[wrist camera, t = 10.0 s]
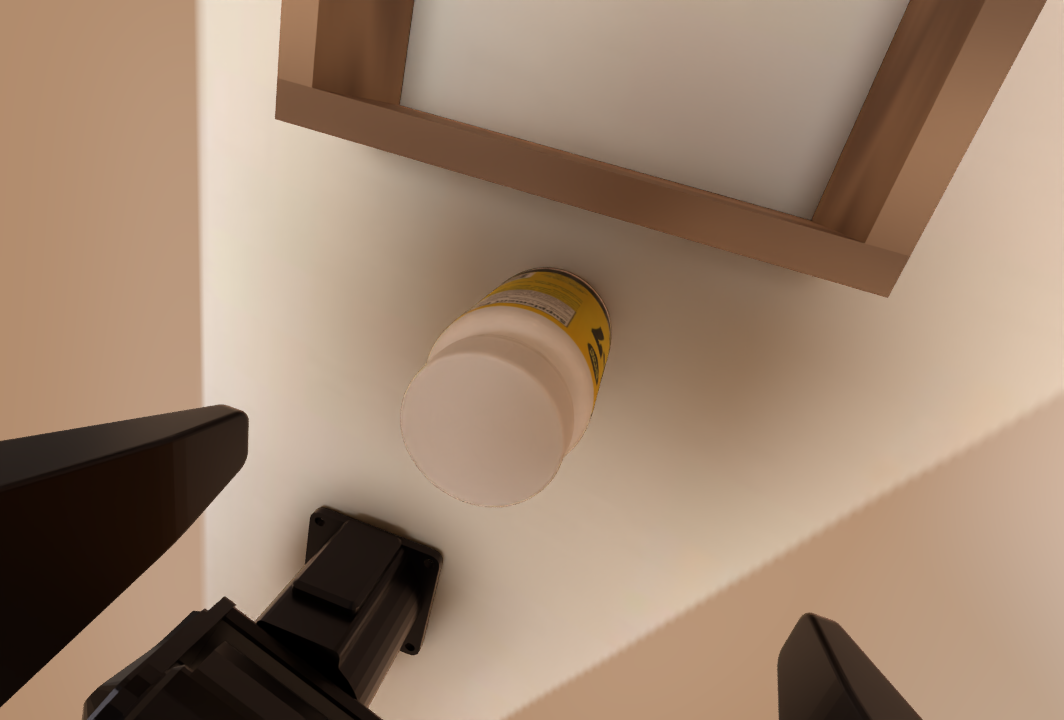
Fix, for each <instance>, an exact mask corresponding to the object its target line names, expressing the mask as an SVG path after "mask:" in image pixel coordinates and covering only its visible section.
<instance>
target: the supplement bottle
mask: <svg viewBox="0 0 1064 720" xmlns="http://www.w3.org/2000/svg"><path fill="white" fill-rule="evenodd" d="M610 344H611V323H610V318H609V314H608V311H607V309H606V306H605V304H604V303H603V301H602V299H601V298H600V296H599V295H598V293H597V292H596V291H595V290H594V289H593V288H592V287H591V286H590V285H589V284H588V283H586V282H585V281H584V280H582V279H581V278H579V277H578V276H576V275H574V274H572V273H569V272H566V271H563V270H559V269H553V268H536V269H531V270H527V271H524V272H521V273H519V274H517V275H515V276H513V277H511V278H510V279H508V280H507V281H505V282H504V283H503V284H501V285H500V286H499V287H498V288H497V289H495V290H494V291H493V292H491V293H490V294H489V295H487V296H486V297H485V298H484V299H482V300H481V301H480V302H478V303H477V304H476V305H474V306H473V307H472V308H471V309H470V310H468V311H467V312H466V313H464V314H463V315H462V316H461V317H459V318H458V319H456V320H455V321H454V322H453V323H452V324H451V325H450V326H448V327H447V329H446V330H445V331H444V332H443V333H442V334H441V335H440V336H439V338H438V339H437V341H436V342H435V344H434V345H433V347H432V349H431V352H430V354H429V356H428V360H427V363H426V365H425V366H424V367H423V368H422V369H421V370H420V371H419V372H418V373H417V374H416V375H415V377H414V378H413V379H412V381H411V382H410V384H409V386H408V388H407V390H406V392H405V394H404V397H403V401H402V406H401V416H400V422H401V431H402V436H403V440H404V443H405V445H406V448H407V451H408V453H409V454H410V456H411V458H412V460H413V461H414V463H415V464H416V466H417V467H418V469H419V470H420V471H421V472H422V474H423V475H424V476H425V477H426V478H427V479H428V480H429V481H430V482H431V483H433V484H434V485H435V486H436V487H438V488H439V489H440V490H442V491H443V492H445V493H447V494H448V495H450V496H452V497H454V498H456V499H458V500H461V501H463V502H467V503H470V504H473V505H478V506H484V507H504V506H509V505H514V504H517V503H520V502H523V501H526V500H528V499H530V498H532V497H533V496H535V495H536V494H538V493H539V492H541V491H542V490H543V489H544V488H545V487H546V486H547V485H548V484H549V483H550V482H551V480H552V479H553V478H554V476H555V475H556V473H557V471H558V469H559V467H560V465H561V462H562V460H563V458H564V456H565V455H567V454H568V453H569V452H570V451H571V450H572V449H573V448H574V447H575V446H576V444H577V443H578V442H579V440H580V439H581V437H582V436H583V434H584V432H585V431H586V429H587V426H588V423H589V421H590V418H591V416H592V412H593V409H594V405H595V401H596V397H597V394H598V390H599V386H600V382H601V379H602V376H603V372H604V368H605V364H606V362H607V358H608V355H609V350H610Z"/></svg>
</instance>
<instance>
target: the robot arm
mask: <svg viewBox="0 0 1064 720" xmlns="http://www.w3.org/2000/svg"><path fill="white" fill-rule="evenodd" d="M248 428H249V419H248V416H247V414H246V413H245V412H244V411H241V410H239V409H236V408H233V407H230V406H227V405H214V406H208V407H202V408H196V409H190V410H184V411H178V412H172V413H166V414H160V415H154V416H148V417H142V418H136V419H130V420H124V421H118V422H112V423H106V424H100V425H94V426H88V427H82V428H76V429H70V430H64V431H58V432H52V433H46V434H40V435H35V436H28V437H22V438H16V439H10V440H4V441H0V707H1V706H2V705H3V704H4V703H6V702H7V701H8V700H9V699H10V698H11V697H12V696H13V695H14V694H15V693H16V692H17V691H18V690H19V689H20V688H21V687H22V686H24V685H25V684H26V683H27V682H28V681H29V680H30V679H31V678H32V677H33V676H34V675H35V674H36V673H37V672H39V671H40V670H41V669H42V668H43V667H44V666H45V665H46V664H47V663H48V662H49V661H50V660H51V659H52V658H53V657H54V656H55V655H57V654H58V653H59V652H60V651H61V650H62V649H63V648H64V647H65V646H66V645H67V644H68V643H69V642H70V641H71V640H73V639H74V638H75V637H76V636H77V635H78V634H79V633H80V632H81V631H82V630H83V629H84V628H85V627H86V626H87V625H88V624H89V623H91V622H92V621H93V620H94V619H95V618H96V617H97V616H98V615H99V614H100V613H101V612H102V611H103V610H104V609H106V608H107V606H109V605H110V604H111V603H112V602H113V601H114V600H115V599H116V598H117V597H118V596H119V595H120V594H121V593H123V592H124V591H125V590H126V589H127V588H128V587H129V586H130V585H131V584H132V583H133V582H134V581H135V580H136V579H137V578H138V577H139V576H141V575H142V574H143V573H144V572H145V571H146V570H147V569H148V568H149V567H150V566H151V565H152V564H153V563H154V562H156V561H157V560H158V559H159V558H160V557H161V556H162V555H163V554H164V553H165V552H166V551H167V550H168V549H169V548H170V547H171V546H172V545H173V544H174V543H175V542H176V541H177V540H178V539H179V538H180V537H181V536H182V535H183V534H184V533H185V532H186V531H187V529H188V528H189V527H190V526H191V525H192V524H193V523H194V522H195V520H196V519H197V518H198V517H199V516H200V515H201V514H202V513H203V511H204V510H205V509H206V508H207V507H208V506H209V505H210V503H211V502H212V501H213V500H214V499H215V498H216V497H217V496H218V494H219V493H220V492H221V491H222V490H223V489H224V488H225V486H226V485H227V484H228V483H229V482H230V481H231V480H232V479H233V477H234V476H235V475H236V474H237V473H238V472H239V471H240V469H241V468H242V467H243V465H244V463H245V461H246V459H247V455H248ZM321 518H322V519H323V520H322V519H321ZM428 559H429V560H431V561H433V562H430V561H429V560H428ZM442 562H443V558H442V556H441V554H440V553H439V552H438V551H436V550H434V549H431V548H429V547H426V546H423V545H421V544H418V543H416V542H413V541H410V540H408V539H405V538H402V537H400V536H397V535H395V534H392V533H389V532H387V531H384V530H382V529H379V528H376V527H374V526H371V525H368V524H366V523H363V522H361V521H358V520H355V519H353V518H350V517H348V516H345V515H342V514H340V513H337V512H335V511H332V510H329V509H327V508H323V507H321V508H318V509H317V510H316V511H315V512H314V513H313V514H312V515H311V517H310V523H309V532H308V541H307V550H306V559H305V566H304V567H303V568H302V569H301V570H300V571H299V572H298V574H297V575H296V576H295V577H294V578H293V579H292V580H291V581H290V583H289V584H288V585H287V586H286V587H285V588H284V589H283V590H282V592H281V593H280V594H279V595H278V596H277V597H276V598H275V599H274V601H273V602H272V603H271V604H270V605H269V606H268V607H267V608H266V609H265V611H264V612H263V613H262V614H261V615H260V616H259V617H258V618H257V620H256V621H255V622H254V621H252V620H251V619H250V618H248V617H247V616H246V615H245V614H243V613H242V612H241V611H239V610H238V609H237V608H235V606H236V604H235V603H233V602H232V601H231V600H229V599H228V598H227V597H226V596H224V597H223V598H222V599H221V600H220V601H219V602H218V603H216V604H215V605H214V606H213V607H212V608H211V609H210V610H206V609H203V610H202V611H192V612H191V613H190V614H189V615H188V616H187V617H186V618H185V619H184V620H183V621H182V622H181V623H180V624H179V625H178V626H177V627H176V628H175V629H174V630H172V631H171V632H170V633H169V634H168V635H167V636H166V637H165V638H164V639H163V640H162V641H160V642H159V643H158V644H157V645H156V646H155V647H153V648H152V649H151V650H149V651H148V652H147V653H145V654H144V655H143V656H141V657H140V658H138V659H137V660H136V661H134V662H133V663H131V664H130V665H129V666H127V667H126V668H125V669H123V670H121V671H120V672H119V673H117V674H116V675H114V676H113V677H112V678H110V679H109V680H107V681H106V682H105V683H103V684H102V685H101V686H100V687H98V688H97V689H96V690H95V691H94V692H93V693H92V694H91V695H90V696H89V697H88V699H87V700H86V701H85V703H84V707H83V715H82V720H383V719H381V718H380V717H379V716H377V715H376V714H375V713H373V712H372V711H371V710H370V709H368V707H369V705H370V703H371V701H372V700H373V698H374V696H375V694H376V692H377V690H378V689H379V687H380V685H381V683H382V681H383V679H384V678H385V676H386V674H387V672H388V670H389V668H390V667H391V665H392V663H393V661H394V659H395V657H396V656H397V654H398V652H399V650H400V651H402V652H404V653H407V654H410V655H416V654H418V652H419V651H420V649H421V647H422V645H423V641H424V637H425V633H426V628H427V624H428V620H429V616H430V612H431V608H432V604H433V600H434V595H435V591H436V587H437V583H438V579H439V575H440V571H441V567H442ZM777 673H778V675H777V676H778V710H779V711H778V712H779V720H922V718H921V717H920V716H919V715H918V714H917V713H916V712H915V711H914V709H913V708H912V707H911V706H910V705H909V704H908V703H907V701H906V700H905V699H904V698H903V697H902V696H901V694H900V693H899V692H898V691H897V690H896V689H895V688H894V686H893V685H892V684H891V683H890V682H889V681H888V680H887V678H886V677H885V676H884V675H883V674H882V673H881V672H880V670H879V669H878V668H877V667H876V666H875V665H874V664H873V662H872V661H871V660H870V659H869V658H868V657H867V656H866V654H865V653H864V652H863V651H862V650H861V649H860V647H859V646H858V645H857V644H856V643H855V642H854V641H853V640H852V638H851V637H850V636H849V635H848V634H847V633H846V631H845V630H844V629H843V628H842V627H841V626H840V625H839V624H838V623H837V622H835V621H833V620H831V619H828V618H825V617H822V616H819V615H816V614H814V613H805V614H804V615H802V616H801V618H800V619H799V620H798V622H797V624H796V625H795V627H794V629H793V630H792V632H791V634H790V635H789V637H788V639H787V640H786V642H785V644H784V645H783V647H782V649H781V651H780V654H779V657H778V664H777Z"/></svg>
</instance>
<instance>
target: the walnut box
mask: <svg viewBox="0 0 1064 720" xmlns="http://www.w3.org/2000/svg"><path fill="white" fill-rule="evenodd" d="M1046 1H1047V0H910V2H909V4H908V7H907V9H906V11H905V13H904V16H903V18H902V20H901V22H900V24H899V27H898V29H897V31H896V33H895V36H894V38H893V40H892V42H891V44H890V47H889V49H888V51H887V53H886V56H885V58H884V60H883V62H882V65H881V67H880V69H879V71H878V73H877V76H876V78H875V80H874V82H873V85H872V87H871V89H870V91H869V93H868V96H867V98H866V100H865V102H864V105H863V107H862V109H861V111H860V113H859V116H858V118H857V120H856V122H855V125H854V127H853V129H852V131H851V133H850V136H849V138H848V140H847V142H846V145H845V147H844V149H843V151H842V153H841V156H840V158H839V160H838V162H837V165H836V167H835V169H834V171H833V173H832V176H831V178H830V180H829V182H828V185H827V187H826V189H825V191H824V194H823V196H822V198H821V200H820V202H819V205H818V207H817V209H816V211H815V214H814V216H813V218H812V220H808V219H804V218H801V217H797V216H794V215H790V214H786V213H783V212H779V211H776V210H772V209H769V208H765V207H761V206H758V205H754V204H751V203H747V202H744V201H740V200H736V199H733V198H729V197H726V196H722V195H719V194H715V193H711V192H708V191H704V190H701V189H697V188H694V187H690V186H686V185H683V184H679V183H676V182H672V181H669V180H665V179H661V178H658V177H654V176H651V175H647V174H644V173H640V172H636V171H633V170H629V169H626V168H622V167H619V166H615V165H611V164H608V163H604V162H601V161H597V160H594V159H590V158H586V157H583V156H579V155H576V154H572V153H569V152H565V151H561V150H558V149H554V148H551V147H547V146H544V145H540V144H536V143H533V142H529V141H526V140H522V139H519V138H515V137H511V136H508V135H504V134H501V133H497V132H494V131H490V130H486V129H483V128H479V127H476V126H472V125H469V124H465V123H461V122H458V121H454V120H451V119H447V118H444V117H440V116H436V115H433V114H429V113H426V112H422V111H419V110H415V109H411V108H408V107H404V106H401V105H399V103H400V96H401V89H402V82H403V75H404V68H405V60H406V53H407V46H408V39H409V32H410V25H411V18H412V10H413V3H414V0H282V7H281V24H280V41H279V59H278V76H277V94H276V111H275V119H277V120H281V121H284V122H287V123H291V124H294V125H298V126H301V127H305V128H308V129H311V130H315V131H318V132H322V133H325V134H329V135H332V136H335V137H339V138H342V139H346V140H349V141H353V142H356V143H359V144H363V145H366V146H370V147H373V148H377V149H380V150H383V151H387V152H390V153H394V154H397V155H401V156H404V157H407V158H411V159H414V160H418V161H421V162H424V163H428V164H431V165H435V166H438V167H442V168H445V169H448V170H452V171H455V172H459V173H462V174H466V175H469V176H472V177H476V178H479V179H483V180H486V181H490V182H493V183H496V184H500V185H503V186H507V187H510V188H514V189H517V190H520V191H524V192H527V193H531V194H534V195H538V196H541V197H544V198H548V199H551V200H555V201H558V202H561V203H565V204H568V205H572V206H575V207H579V208H582V209H585V210H589V211H592V212H596V213H599V214H603V215H606V216H609V217H613V218H616V219H620V220H623V221H627V222H630V223H633V224H637V225H640V226H644V227H647V228H651V229H654V230H657V231H661V232H664V233H668V234H671V235H675V236H678V237H681V238H685V239H688V240H692V241H695V242H698V243H702V244H705V245H709V246H712V247H716V248H719V249H722V250H726V251H729V252H733V253H736V254H740V255H743V256H746V257H750V258H753V259H757V260H760V261H764V262H767V263H770V264H774V265H777V266H781V267H784V268H788V269H791V270H794V271H798V272H801V273H805V274H808V275H812V276H815V277H818V278H822V279H825V280H829V281H832V282H836V283H839V284H842V285H846V286H849V287H853V288H856V289H859V290H863V291H866V292H870V293H873V294H877V295H880V296H883V297H887V298H888V296H889V295H890V293H891V291H892V289H893V287H894V285H895V283H896V281H897V280H898V278H899V276H900V274H901V272H902V270H903V268H904V266H905V265H906V263H907V261H908V259H909V257H910V255H911V253H912V252H913V250H914V248H915V246H916V244H917V242H918V240H919V238H920V237H921V235H922V233H923V231H924V229H925V227H926V225H927V223H928V222H929V220H930V218H931V216H932V214H933V212H934V210H935V208H936V207H937V205H938V203H939V201H940V199H941V197H942V195H943V194H944V192H945V190H946V188H947V186H948V184H949V182H950V180H951V179H952V177H953V175H954V173H955V171H956V169H957V167H958V165H959V164H960V162H961V160H962V158H963V156H964V154H965V152H966V151H967V149H968V147H969V145H970V143H971V141H972V139H973V137H974V136H975V134H976V132H977V130H978V128H979V126H980V124H981V122H982V121H983V119H984V117H985V115H986V113H987V111H988V109H989V108H990V106H991V104H992V102H993V100H994V98H995V96H996V94H997V93H998V91H999V89H1000V87H1001V85H1002V83H1003V81H1004V79H1005V78H1006V76H1007V74H1008V72H1009V70H1010V68H1011V66H1012V65H1013V63H1014V61H1015V59H1016V57H1017V55H1018V53H1019V51H1020V50H1021V48H1022V46H1023V44H1024V42H1025V40H1026V38H1027V36H1028V35H1029V33H1030V31H1031V29H1032V27H1033V25H1034V23H1035V21H1036V20H1037V18H1038V16H1039V14H1040V12H1041V10H1042V8H1043V7H1044V5H1045V3H1046Z"/></svg>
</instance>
